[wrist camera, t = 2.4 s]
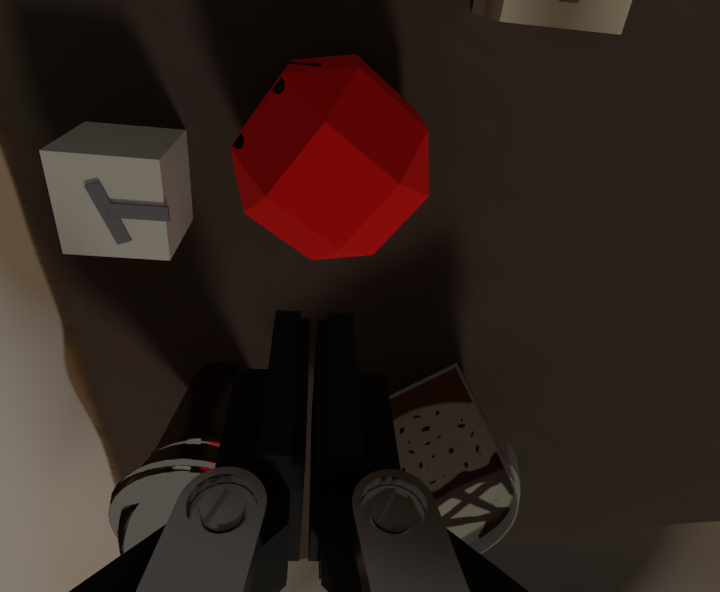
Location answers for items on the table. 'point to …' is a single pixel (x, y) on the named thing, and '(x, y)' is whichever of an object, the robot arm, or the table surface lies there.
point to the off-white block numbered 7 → (119, 190)
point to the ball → (332, 158)
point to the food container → (456, 457)
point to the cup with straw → (173, 458)
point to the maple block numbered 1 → (559, 13)
